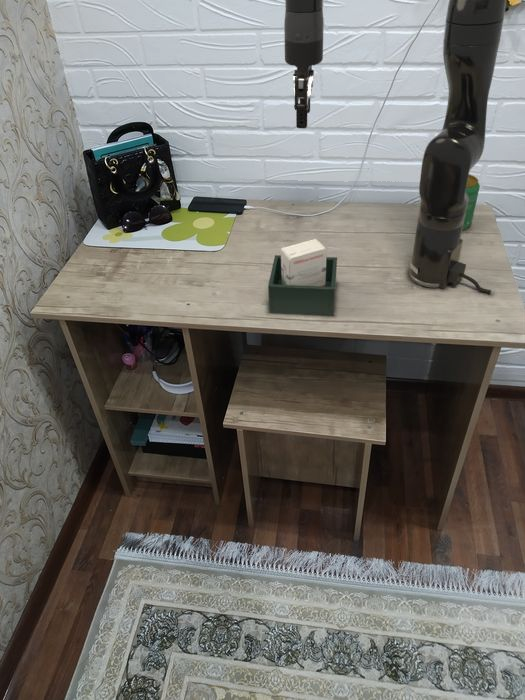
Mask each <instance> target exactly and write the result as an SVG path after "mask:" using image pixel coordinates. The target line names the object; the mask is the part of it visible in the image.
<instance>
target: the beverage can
mask: <svg viewBox="0 0 525 700" xmlns="http://www.w3.org/2000/svg"><path fill="white" fill-rule="evenodd" d="M480 187H481V185H480V183H479V179H478V178H477V177H476V176H474V175H472V174H469V175H468V180H467V186H466V191H465V192H466V193H467V195H468V205H467V210H466V214H465V219H464V223H463V228H462V232H463V231H464V232H465V231H466V230H467V229H468V228H469V227H470V226H471V225H472V224H473V223H472V222H473V220H474V219H473V217H474V213H475V210H476V204H477V200H478V196H479V192H480Z"/></svg>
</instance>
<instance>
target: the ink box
mask: <svg viewBox="0 0 525 700" xmlns="http://www.w3.org/2000/svg"><path fill="white" fill-rule="evenodd" d="M327 254H328V250H327V248H326V247H325V246H324V244H323V243H322V242H321V241H319V239H317V238H313V239H310V240H306V241H302V242H298V243H295V244H292V245H291V244H290V245H288V246H284V247H281V248H280V255H281V275H282V285H299V286H322V287H325V286H326V259H327V257H328V255H327Z"/></svg>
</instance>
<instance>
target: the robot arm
mask: <svg viewBox="0 0 525 700" xmlns="http://www.w3.org/2000/svg"><path fill="white" fill-rule="evenodd" d="M284 2H285V3H284V4H285V7H284V8H285V10H284V11H285V12H284V21H283V22H284V23H283V24H284V25H283V27H284V62H285V63H286V64H287V65H289V66H292V67H293V66H294V67H296V69H294V73H293V74H292V82H293V98H294V105H293V108H294V111H295V112H296V116H295V118H296V120H295V124H296V125H295V127H296V128H297V129H307V128H308V114H310V113H311V98H312V91H313V90H312V88H314V78H315V77H314V76H315V69H313V66H317V65H319V64H320V63H321V62H322V61H323V59H324V30H325V29H324V26H325V25H324V23H325V20H324V9H323V8H324V0H284ZM506 5H507V0H448V4H447V9H446V15H445V23H444V32H443V33H444V34H443V42H442V58H443V59H442V60H443V66H444V71H445V72H444V73H445V76H446V82H447V87H448V89H447V90H448V97H447V105H446V112H445V117H444V121H443V125H442V129H441V131H440V132H439V133H438V134H436V135H435V136H434V137H433V138H432V139H431V140H430V141H429V142H428V144H427V145H426V147H425V149H424V152H423V155H422V161H421V169H420V176H419V177H420V178H419V187H418V189H419V190H418V193H419V194H418V195H419V198H420V204H419V211H418V216H417V223H416V230H415V236H414V243H413V249H412V255H411V261H410V263H409V273H408V276H409V278H410V280H411V281H412V282H413V283H415V284H416V285H417V286H420V287H424V288H430V289H438V288H439V289H442V290H445V289H446V287H448V285H449V284H450V283H451V284H453V285H458V283H459V281H460V280H461V279H462V278H463V279H464V280H467V281H469V282H470V283H472V284H473V285H474V286H475V288H476V290H478V292H481V293H485V294H490V295H491V293H492V289H487V288H484V287H481V285H480V284H479V283H478V281H477V280H476V279H474V278H472V277H471V276H469V275H467V274H465V272H466V268H467V264H466V263H463V262H461V261H459V260H460V256H461V251H462V247H463V242H464V240H463V239H462V237H461V236H462V232H463V231H462V228H463V223H464V219H465V214H466V210H467V205H468V195H467V193H466V192H465V191H466V186H467V180H468V175H470V171H471V170H472V169H473V168H474V167H475V166H476V165H477V164H478V162H479V161H480V160H481V158H482V155H483V152H484V149H485V142H486V129H487V112H488V102H489V101H488V100H489V94H490V89H491V86H492V81H493V77H494V72H495V68H496V61H497V56H498V50H499V47H500V43H501V37H502V31H503V26H504V25H503V24H504V20H505V14H506Z"/></svg>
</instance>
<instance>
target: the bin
mask: <svg viewBox="0 0 525 700" xmlns="http://www.w3.org/2000/svg"><path fill="white" fill-rule="evenodd" d="M273 257H274V258H273V263H272V266H271V267H272V268H271V271H270V276H269V280H268V284H267V292H268V313H270V314H288V315H306V316H326V317H335V316H334V313H335V302H336V301H335V300H336V289H337V269H338V257H333V256H327V259H326V286H325V287H322V286H299V285H282V275H281V254H279V255H278V254H275V255H274V256H273Z"/></svg>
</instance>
